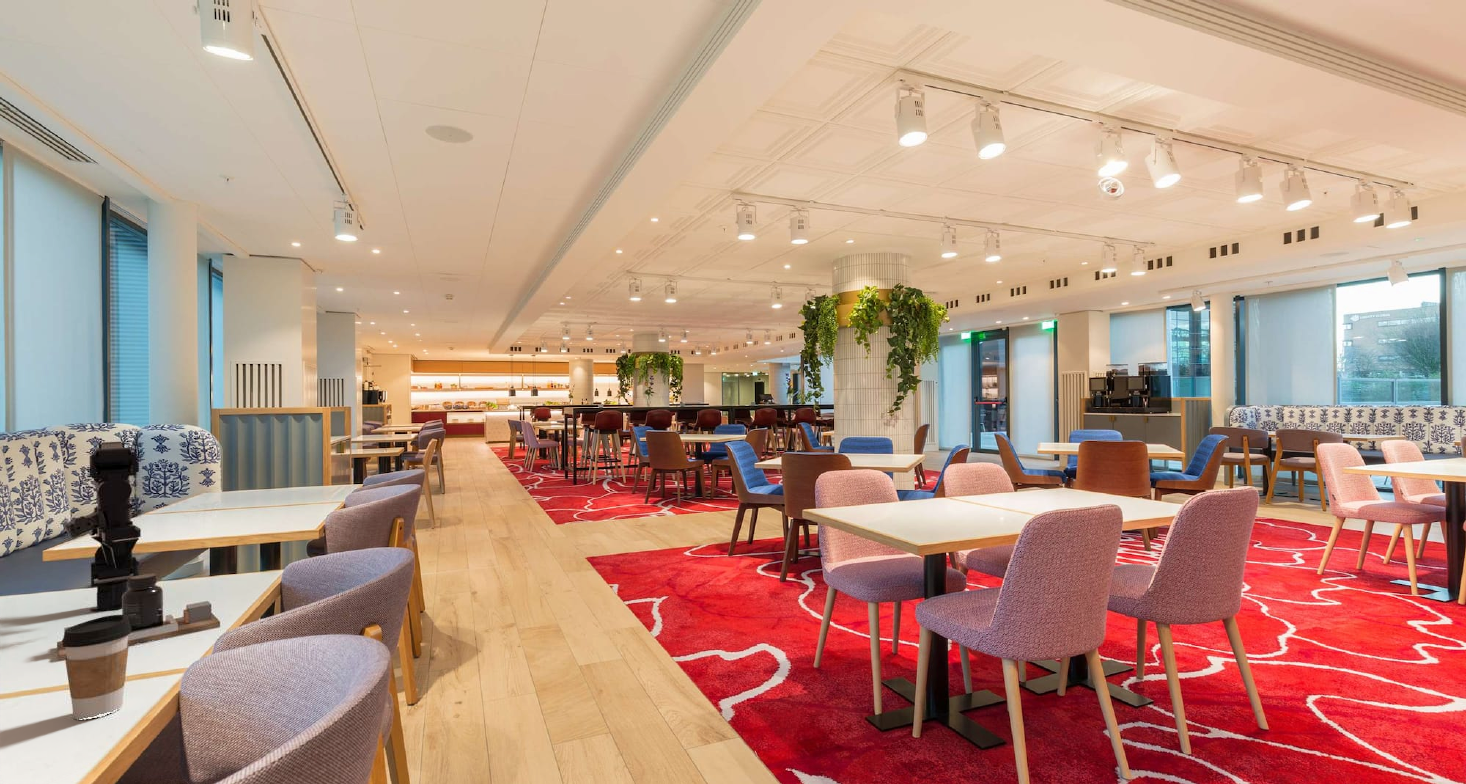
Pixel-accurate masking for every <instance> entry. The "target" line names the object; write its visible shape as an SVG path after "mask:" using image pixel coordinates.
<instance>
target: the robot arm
mask: <svg viewBox="0 0 1466 784" xmlns="http://www.w3.org/2000/svg"><path fill="white" fill-rule="evenodd" d="M139 463H140V462H139V456H138V454H137V453H136V452H135V451H132V448H131V447H130V446H129V447H125V442H122V441H110V442H109V441H105V442H101V443H98V448H96V449H95V451H94V452H93V453H91V454H90V456H89V478H91V479H93V486H94V488H96V489H97V490H96V491H97V505H96V506H95V507H94V508H93V513H90V514H87V515H84V516H83V515H80V516H79V517H76V518H73V520H71V521H68V522H65V523H63V524H62V525H63V527H64V529H65V531H66V533H67V535H68V537H69V538H71V539H73V538H76V537H77V538H78V537H80V536H81V535H82V534H85V533H87V532H89V533H88V535H89V536H91V539H93V540H94V541H96V542H98V543H99V544H100V546H99V547H98V548H97V549H96V551H95V553H94V562H93V561H92V562H90V586H91V587H90V588H94V587H96V590H97V591H96V606H95V607H92V608H90V611H91V612H92V611H109V610H120V609H122V595H123V594H124V593H125V592H126V591H127V590H129V587H127V585H128V578H130V577H134V576H139V575H140V561H139V560H137V558H136V556H133V549H134V548H135V546H136V544H137V542H138V541H139V540H140V538H141V537H142V536H141V535H142V534H141V531H142V530H141V528H140V527H138V526H137V525H135V524H133V523H134V522H133V521H132V520H131V519H132V517H131V509H133V503H131V496H132V492H133V487H132V486H131V480H130V477H132V476H134V477H135V476H137V473H139V472H140V466H139V465H140V464H139Z"/></svg>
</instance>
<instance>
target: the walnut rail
mask: <svg viewBox="0 0 1466 784" xmlns="http://www.w3.org/2000/svg"><path fill="white" fill-rule="evenodd" d="M185 607H186V609H183V611H182V612H183V616H181V617H177V618H174V617H173V615H172V614H168V615H165V620H163V625H162V626H158V627H153V628H148V629H143V630H138V631H133V632H131V633H130V634H129V635H128V641H127V644H128V645H129V647H131V646H130V645H132V646H135V645H134V644H137V643H142V644H145V643H144V642H146V643H149V642H148V641H151V642H153V641H152V640H156V641H160V640H159V639H161V640H164V639H163V638H165V639H169V638H168V637H170V638H174V637H179V636H183V635H188V634H193V633H197V632H198V633H199V632H202V631H207V630H210V629H216V628H221V621H220V620H219V619H218V617H216V616H215V614H213V612H212V603H211V602H210V601H209V600H206V601H200V602H194V603H190V604H186V606H185ZM70 627H71V626H67V627H64V628H63V633H65V630H66V629H68V628H70ZM62 643H63V642H62V640H61V641H57V642H56V649H57V655H58V661H59V662H62V661H65V657H66V647H64V646H62ZM137 645H138V644H137ZM61 660H62V661H61Z"/></svg>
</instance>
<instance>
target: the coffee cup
mask: <svg viewBox="0 0 1466 784" xmlns="http://www.w3.org/2000/svg"><path fill="white" fill-rule="evenodd" d="M69 627H70V628H68V629H66V630H65V633H64V632H63V633H64V634H63V638H62V640H61V641H62V642H63V643H62V646H64V647H66V657H65V660H64V661H65V666H66V674H67V680H68V682H67V683H68V687H69V695H70V698H71V708H72V716H73V719H74V718H75V719H83V718H88V717H94V716H97V715H99V714H104V713H107V712H113V711H114V710H116V709H119V708H121V706H122V707H123V706H124V705H123V703H124V692H125V691H124V689H125V683H126V673H127V672H126V671H127V665H128V664H127V663H128V656H129V655H128V654H129V647H130V646H129V645H128V644H127V641H128V635H129V634H130V633H131V626H130V624H129V619H128V616H127V615H122V614H112V615H105V616H101V617H96V618H93V619H90V620H87V621H84V622H81V623H78V624H74V625H73V626H72V625H71V626H69ZM121 709H122V708H121ZM75 719H74V720H75Z"/></svg>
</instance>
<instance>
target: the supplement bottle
mask: <svg viewBox="0 0 1466 784" xmlns="http://www.w3.org/2000/svg"><path fill="white" fill-rule="evenodd" d="M157 577H158V575H157V574H156V573H149V574H147V573H146V574H141V575H140V574H139V576H134V577H130V578H128V585H127V587H129V590H127V591H126V592H125V593H124V594H123V595H122V608H121V613H122V614H121V615H127V616H128V619H129V624H130V626H131V632H133V631H138V630H143V629H148V628H153V627H158V626H162V625H163V621H164V590H163V588H162V587H161V586H159V585H157V583H158V578H157Z"/></svg>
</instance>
